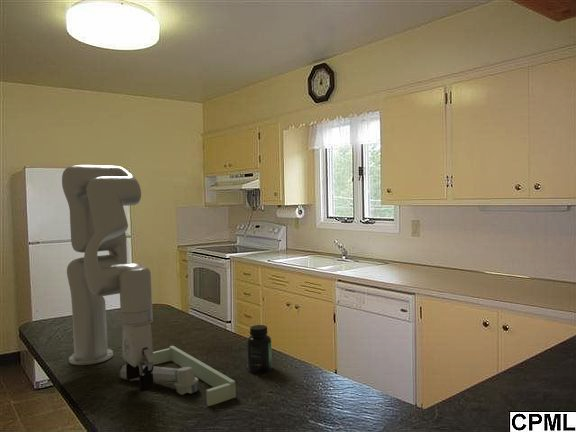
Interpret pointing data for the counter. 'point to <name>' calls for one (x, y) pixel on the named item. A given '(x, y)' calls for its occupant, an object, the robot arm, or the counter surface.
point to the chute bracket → (200, 374)
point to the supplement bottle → (259, 350)
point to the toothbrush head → (171, 377)
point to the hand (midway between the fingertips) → (139, 384)
